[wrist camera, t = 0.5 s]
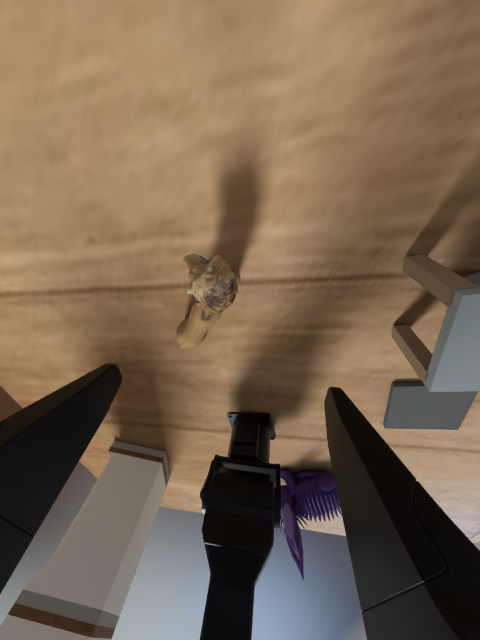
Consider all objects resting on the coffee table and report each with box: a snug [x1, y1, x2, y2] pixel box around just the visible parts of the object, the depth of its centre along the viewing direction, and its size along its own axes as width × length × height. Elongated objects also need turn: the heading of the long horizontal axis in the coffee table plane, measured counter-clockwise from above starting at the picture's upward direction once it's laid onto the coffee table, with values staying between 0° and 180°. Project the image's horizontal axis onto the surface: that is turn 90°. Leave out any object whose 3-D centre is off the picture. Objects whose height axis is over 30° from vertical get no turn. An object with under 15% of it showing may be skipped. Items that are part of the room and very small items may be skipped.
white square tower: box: [0, 441, 170, 640], centre depth 33 cm, size 11×11×35 cm
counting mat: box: [383, 382, 478, 430], centre depth 26 cm, size 8×8×1 cm
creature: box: [276, 470, 342, 578], centre depth 36 cm, size 9×18×12 cm, turn 110°
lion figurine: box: [176, 254, 240, 348], centre depth 20 cm, size 12×4×7 cm, turn 160°
